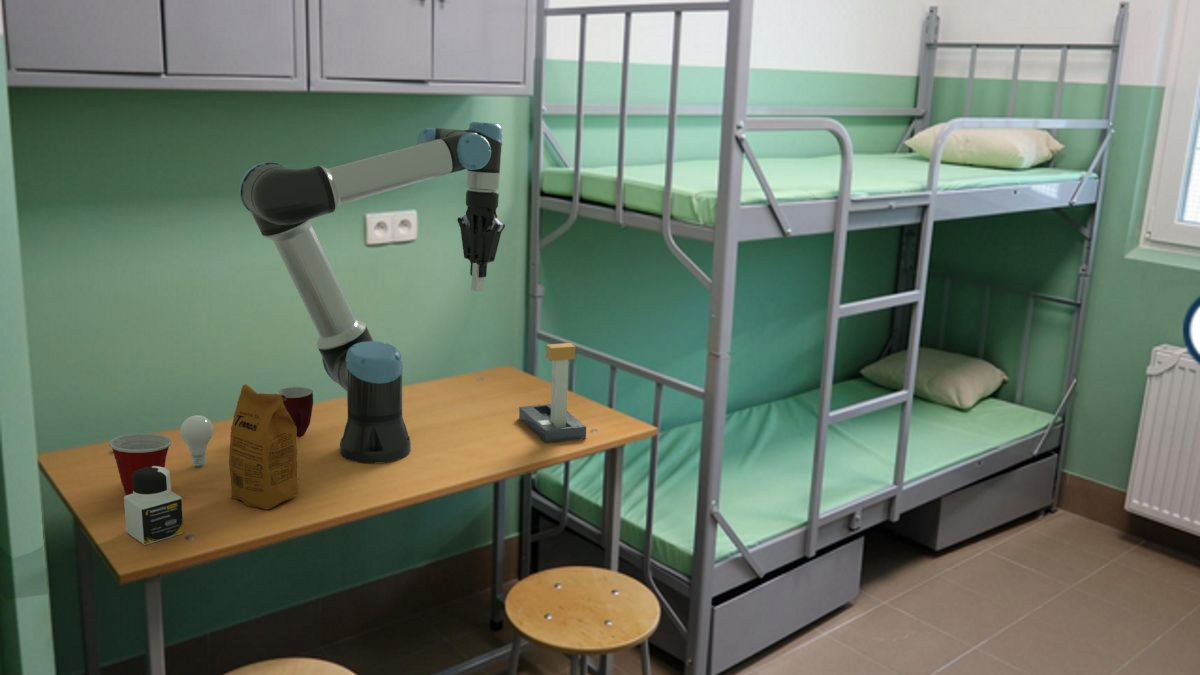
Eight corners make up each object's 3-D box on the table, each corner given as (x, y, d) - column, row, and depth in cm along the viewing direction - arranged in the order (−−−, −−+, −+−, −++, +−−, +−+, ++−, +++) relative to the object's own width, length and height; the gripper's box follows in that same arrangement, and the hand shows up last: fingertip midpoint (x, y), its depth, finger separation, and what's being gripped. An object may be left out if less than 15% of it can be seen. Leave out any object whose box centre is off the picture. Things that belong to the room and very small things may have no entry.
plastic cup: (186, 499, 194) (182, 440, 192) (129, 515, 187) (124, 454, 184) (159, 483, 201) (155, 425, 198) (103, 498, 194) (98, 438, 191)
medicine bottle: (144, 546, 175) (139, 481, 172) (125, 533, 180) (120, 469, 177) (184, 534, 180) (180, 470, 177) (165, 521, 185) (161, 459, 182)
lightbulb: (182, 462, 212) (178, 412, 209) (214, 459, 215) (211, 409, 212) (183, 473, 207) (179, 422, 204) (216, 470, 209) (213, 419, 206)
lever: (543, 425, 239) (546, 344, 234) (567, 422, 241) (570, 342, 236) (548, 429, 236) (551, 348, 231) (572, 426, 238) (575, 346, 233)
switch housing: (519, 418, 248) (519, 406, 247) (557, 414, 252) (557, 402, 252) (545, 443, 232) (546, 430, 232) (585, 438, 236) (586, 425, 236)
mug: (326, 438, 229) (325, 396, 227) (293, 446, 224) (291, 403, 221) (303, 426, 237) (302, 385, 234) (270, 433, 231) (269, 391, 229)
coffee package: (264, 482, 204) (260, 377, 199) (306, 498, 198) (302, 389, 192) (221, 497, 196) (216, 388, 191) (263, 514, 190) (258, 402, 184)
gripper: (514, 192, 235) (508, 293, 240) (472, 187, 242) (467, 284, 247) (493, 193, 229) (487, 296, 234) (450, 187, 236) (446, 287, 241)
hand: (477, 290), depth 241 cm, fingers closed
